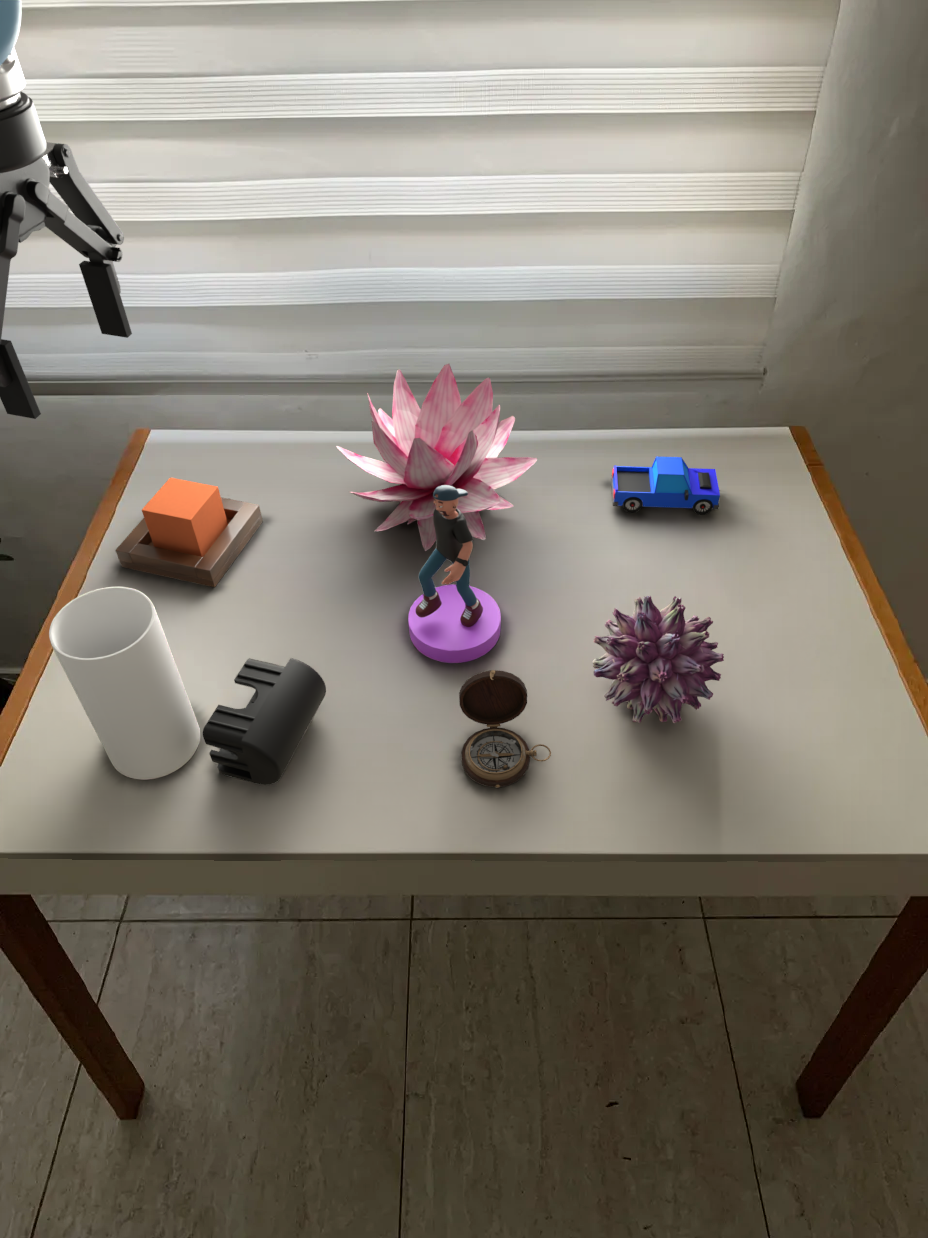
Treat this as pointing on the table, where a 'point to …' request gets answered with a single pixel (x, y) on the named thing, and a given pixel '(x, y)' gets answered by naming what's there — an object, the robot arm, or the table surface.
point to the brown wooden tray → (188, 567)
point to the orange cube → (185, 516)
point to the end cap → (265, 720)
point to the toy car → (665, 486)
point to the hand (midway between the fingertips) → (73, 372)
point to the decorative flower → (440, 454)
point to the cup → (126, 680)
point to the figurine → (452, 593)
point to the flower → (657, 659)
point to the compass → (495, 729)
